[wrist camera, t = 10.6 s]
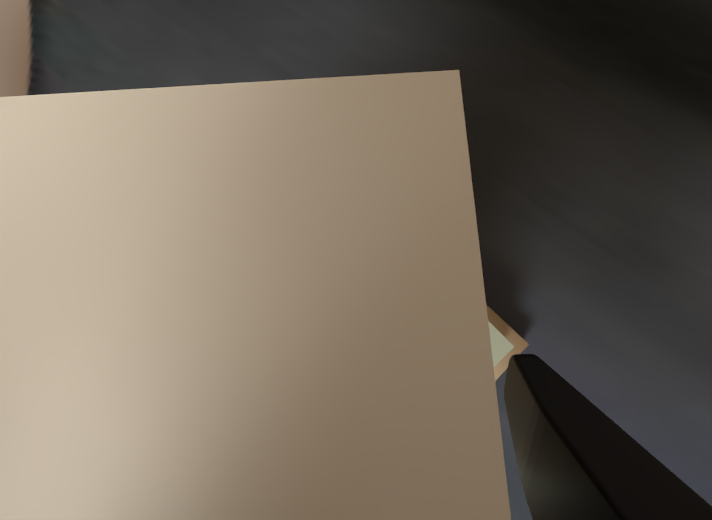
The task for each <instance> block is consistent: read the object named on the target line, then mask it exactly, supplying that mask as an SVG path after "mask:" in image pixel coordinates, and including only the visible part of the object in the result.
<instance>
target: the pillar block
mask: <svg viewBox="0 0 712 520" xmlns="http://www.w3.org/2000/svg"><path fill="white" fill-rule="evenodd" d="M0 520H511V514H510V506H509V497H508V488H507V480H506V471H505V462H504V454H503V445H502V436H501V428H500V419H499V411H498V402H497V393H496V385H495V376H494V367H493V359H492V350H491V341H490V333H489V324H488V316H487V307H486V298H485V290H484V281H483V272H482V264H481V255H480V246H479V238H478V229H477V221H476V212H475V203H474V195H473V186H472V177H471V169H470V160H469V151H468V143H467V134H466V125H465V117H464V108H463V100H462V91H461V82H460V74H459V70H448V71H431V72H414V73H397V74H381V75H364V76H347V77H330V78H314V79H297V80H280V81H263V82H247V83H230V84H213V85H196V86H180V87H163V88H146V89H129V90H113V91H96V92H79V93H62V94H45V95H29V96H12V97H0Z"/></svg>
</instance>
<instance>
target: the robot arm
mask: <svg viewBox="0 0 712 520" xmlns="http://www.w3.org/2000/svg"><path fill="white" fill-rule="evenodd" d="M504 400H505V405H506V410H507V415H508V420H509V425H510V430H511V435H512V440H513V444H514V449H515V454H516V459H517V464H518V469H519V474H520V478H521V483H522V486H523V489H524V493H525V496H526V499H527V503H528V506H529V509H530V512H531V515H532V518H533V520H712V506H711V505H709V504H708V503H707V502H706V501H705V500H704V499H702V498H701V497H700V496H699V495H698V494H697V493H695V492H694V491H693V490H692V489H691V488H690V487H689V486H687V485H686V484H685V483H684V482H683V481H682V480H680V479H679V478H678V477H677V476H676V475H675V474H673V473H672V472H671V471H670V470H669V469H668V468H666V467H665V466H664V465H663V464H662V463H661V462H660V461H658V460H657V459H656V458H655V457H654V456H653V455H651V454H650V453H649V452H648V451H647V450H646V449H644V448H643V447H642V446H641V445H640V444H639V443H638V442H636V441H635V440H634V439H633V438H632V437H631V436H629V435H628V434H627V433H626V432H625V431H624V430H622V429H621V428H620V427H619V426H618V425H617V424H616V423H614V422H613V421H612V420H611V419H610V418H609V417H607V416H606V415H605V414H604V413H603V412H602V411H600V410H599V409H598V408H597V407H596V406H595V405H593V404H592V403H591V402H590V401H589V400H588V399H587V398H585V397H584V396H583V395H582V394H581V393H580V392H578V391H577V390H576V389H575V388H574V387H573V386H571V385H570V384H569V383H568V382H567V381H566V380H565V379H563V378H562V377H561V376H560V375H559V374H558V373H556V372H555V371H554V370H553V369H552V368H551V367H549V366H548V365H547V364H546V363H545V362H544V361H542V360H541V359H540V358H539V357H538V356H536V355H533V354H515V355H512V356H511V358H510V359H509V363H508V369H507V374H506V379H505V385H504Z"/></svg>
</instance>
